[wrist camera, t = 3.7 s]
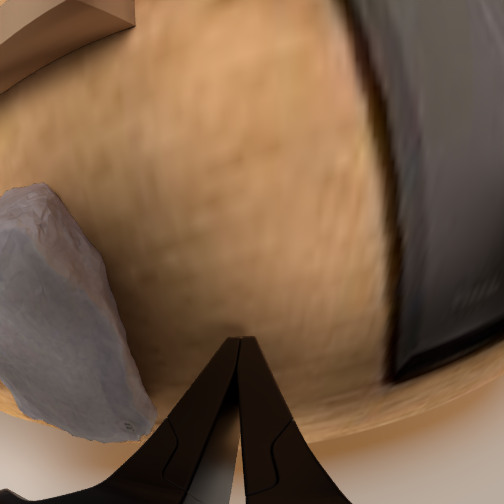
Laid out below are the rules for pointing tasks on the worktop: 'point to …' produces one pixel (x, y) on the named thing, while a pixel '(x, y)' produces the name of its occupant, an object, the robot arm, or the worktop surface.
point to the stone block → (64, 325)
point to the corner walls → (53, 31)
